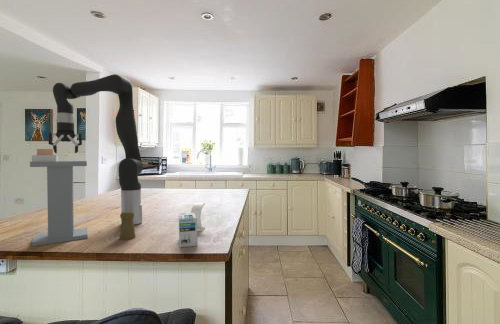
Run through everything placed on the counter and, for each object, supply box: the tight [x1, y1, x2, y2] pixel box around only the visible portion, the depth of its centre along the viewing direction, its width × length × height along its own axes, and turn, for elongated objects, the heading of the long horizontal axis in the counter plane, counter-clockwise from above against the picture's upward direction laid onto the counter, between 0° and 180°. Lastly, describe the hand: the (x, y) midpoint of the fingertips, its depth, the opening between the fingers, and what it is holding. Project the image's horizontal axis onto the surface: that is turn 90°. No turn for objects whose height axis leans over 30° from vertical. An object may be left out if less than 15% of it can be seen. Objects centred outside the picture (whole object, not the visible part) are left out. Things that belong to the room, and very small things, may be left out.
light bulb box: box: [178, 212, 198, 248], centre depth 100 cm, size 11×7×11 cm, turn 16°
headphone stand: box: [190, 202, 206, 232], centre depth 118 cm, size 5×6×12 cm
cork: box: [118, 211, 136, 241], centre depth 107 cm, size 6×6×11 cm
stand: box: [29, 154, 89, 247], centre depth 107 cm, size 18×13×34 cm
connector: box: [36, 148, 55, 155], centre depth 109 cm, size 5×17×5 cm, turn 33°
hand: (66, 153), depth 135 cm, fingers open, 8 cm apart
